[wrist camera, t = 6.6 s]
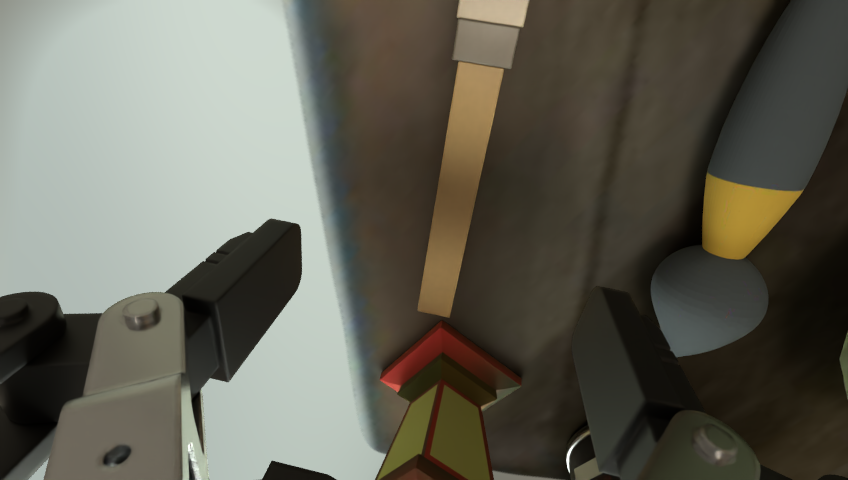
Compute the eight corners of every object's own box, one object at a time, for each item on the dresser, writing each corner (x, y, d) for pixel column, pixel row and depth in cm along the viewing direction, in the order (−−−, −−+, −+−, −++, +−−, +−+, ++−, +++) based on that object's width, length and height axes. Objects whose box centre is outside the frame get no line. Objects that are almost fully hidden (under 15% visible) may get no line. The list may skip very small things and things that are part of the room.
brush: (460, 290, 26) (456, 319, 24) (419, 281, 27) (410, 309, 24) (544, -79, 17) (552, -99, 14) (478, -88, 17) (475, -109, 14)
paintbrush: (723, -47, 16) (805, -72, 12) (864, -55, 15) (1007, -85, 11) (623, 326, 26) (648, 388, 21) (707, 333, 25) (751, 398, 21)
